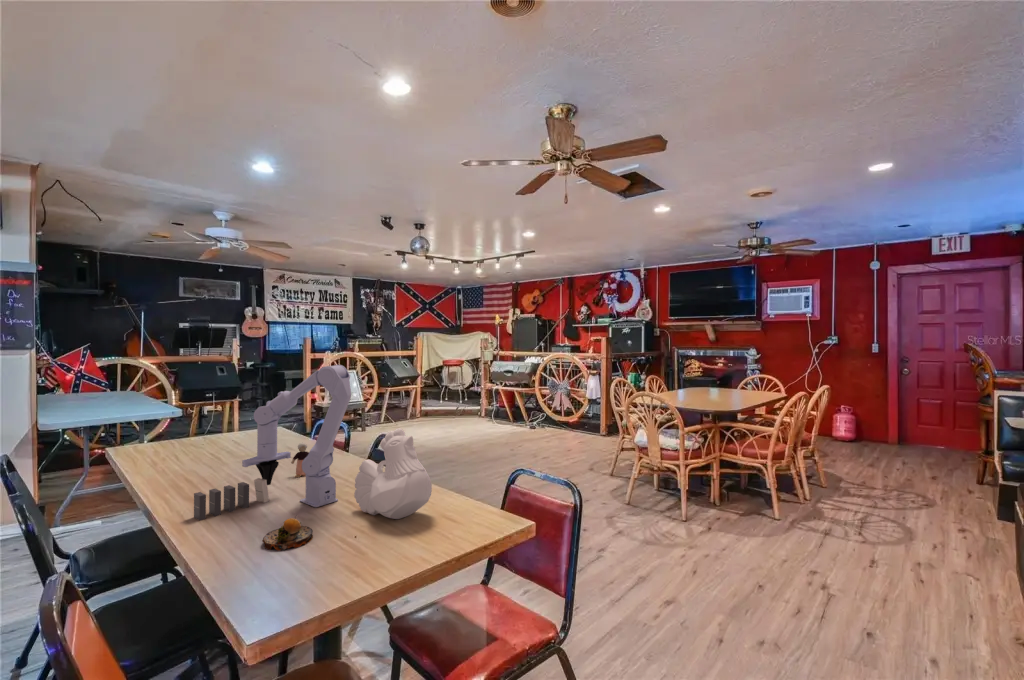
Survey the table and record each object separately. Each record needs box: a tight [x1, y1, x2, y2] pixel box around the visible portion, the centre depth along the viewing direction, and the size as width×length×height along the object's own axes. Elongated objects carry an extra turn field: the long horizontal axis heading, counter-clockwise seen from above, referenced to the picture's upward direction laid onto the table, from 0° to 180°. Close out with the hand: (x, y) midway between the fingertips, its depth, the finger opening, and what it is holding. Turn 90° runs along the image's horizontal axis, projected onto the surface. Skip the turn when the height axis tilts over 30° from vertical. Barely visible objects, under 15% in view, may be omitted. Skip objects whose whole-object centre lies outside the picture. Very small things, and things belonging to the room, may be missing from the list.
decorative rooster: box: [353, 427, 433, 520], centre depth 141 cm, size 25×16×25 cm
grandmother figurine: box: [290, 442, 310, 478], centre depth 177 cm, size 8×4×13 cm, turn 143°
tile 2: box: [223, 485, 236, 513], centre depth 142 cm, size 4×2×7 cm, turn 54°
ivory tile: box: [253, 477, 270, 504], centre depth 149 cm, size 4×2×7 cm, turn 62°
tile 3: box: [208, 488, 222, 517], centre depth 138 cm, size 4×2×7 cm, turn 54°
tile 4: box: [193, 491, 207, 521], centre depth 135 cm, size 4×2×7 cm, turn 54°
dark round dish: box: [261, 514, 314, 552], centre depth 121 cm, size 12×12×8 cm
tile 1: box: [237, 481, 250, 509], centre depth 145 cm, size 4×2×7 cm, turn 54°
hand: (267, 484), depth 151 cm, fingers closed
